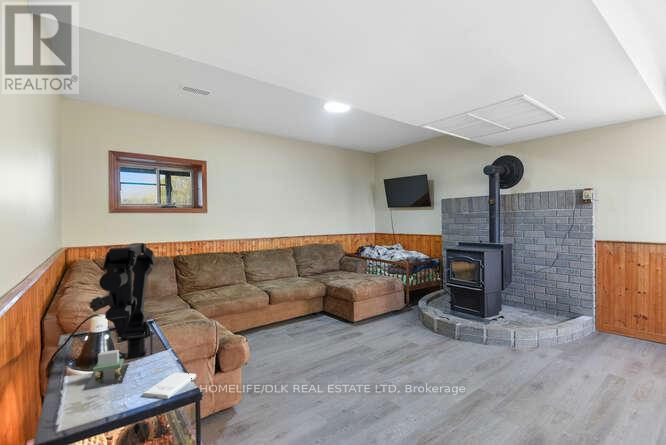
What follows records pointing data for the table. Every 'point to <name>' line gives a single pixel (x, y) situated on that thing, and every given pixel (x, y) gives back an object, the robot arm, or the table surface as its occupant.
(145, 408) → the table surface
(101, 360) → the green u-channel holder
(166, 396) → the external hard drive
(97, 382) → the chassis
